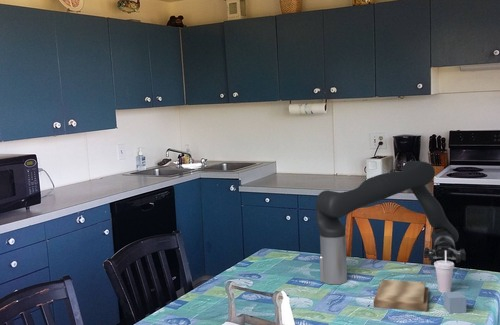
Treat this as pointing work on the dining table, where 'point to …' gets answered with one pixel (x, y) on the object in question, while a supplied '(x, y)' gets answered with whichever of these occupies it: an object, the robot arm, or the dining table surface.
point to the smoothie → (444, 274)
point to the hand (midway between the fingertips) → (444, 259)
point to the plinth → (401, 304)
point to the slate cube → (454, 302)
